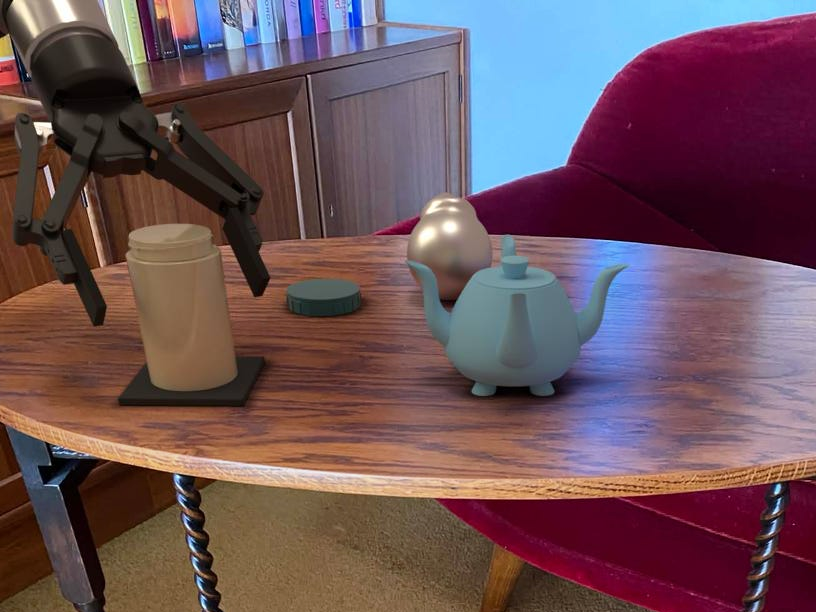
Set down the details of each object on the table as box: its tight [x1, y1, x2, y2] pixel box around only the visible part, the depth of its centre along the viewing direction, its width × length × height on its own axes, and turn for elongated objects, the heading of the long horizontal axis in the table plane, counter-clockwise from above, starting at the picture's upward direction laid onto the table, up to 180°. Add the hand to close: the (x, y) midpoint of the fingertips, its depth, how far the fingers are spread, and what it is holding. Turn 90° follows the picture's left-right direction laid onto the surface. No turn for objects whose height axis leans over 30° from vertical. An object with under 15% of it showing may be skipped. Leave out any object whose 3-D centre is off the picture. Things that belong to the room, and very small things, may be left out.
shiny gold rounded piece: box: [406, 192, 494, 301], centre depth 99 cm, size 9×10×10 cm
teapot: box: [404, 234, 629, 397], centre depth 80 cm, size 13×13×10 cm
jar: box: [125, 223, 238, 392], centre depth 78 cm, size 7×7×11 cm
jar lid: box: [285, 278, 363, 317], centre depth 99 cm, size 8×8×2 cm
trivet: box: [117, 355, 266, 407], centre depth 81 cm, size 10×10×1 cm
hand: (185, 302), depth 76 cm, fingers open, 13 cm apart
